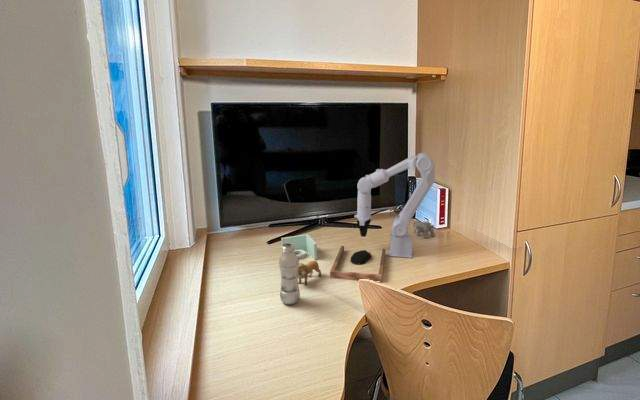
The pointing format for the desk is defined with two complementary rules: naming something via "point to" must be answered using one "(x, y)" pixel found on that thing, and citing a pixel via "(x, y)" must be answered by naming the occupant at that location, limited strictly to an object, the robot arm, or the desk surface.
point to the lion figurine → (307, 271)
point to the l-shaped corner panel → (302, 245)
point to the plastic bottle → (289, 275)
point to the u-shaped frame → (353, 274)
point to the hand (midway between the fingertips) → (363, 236)
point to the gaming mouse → (360, 257)
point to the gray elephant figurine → (424, 228)
